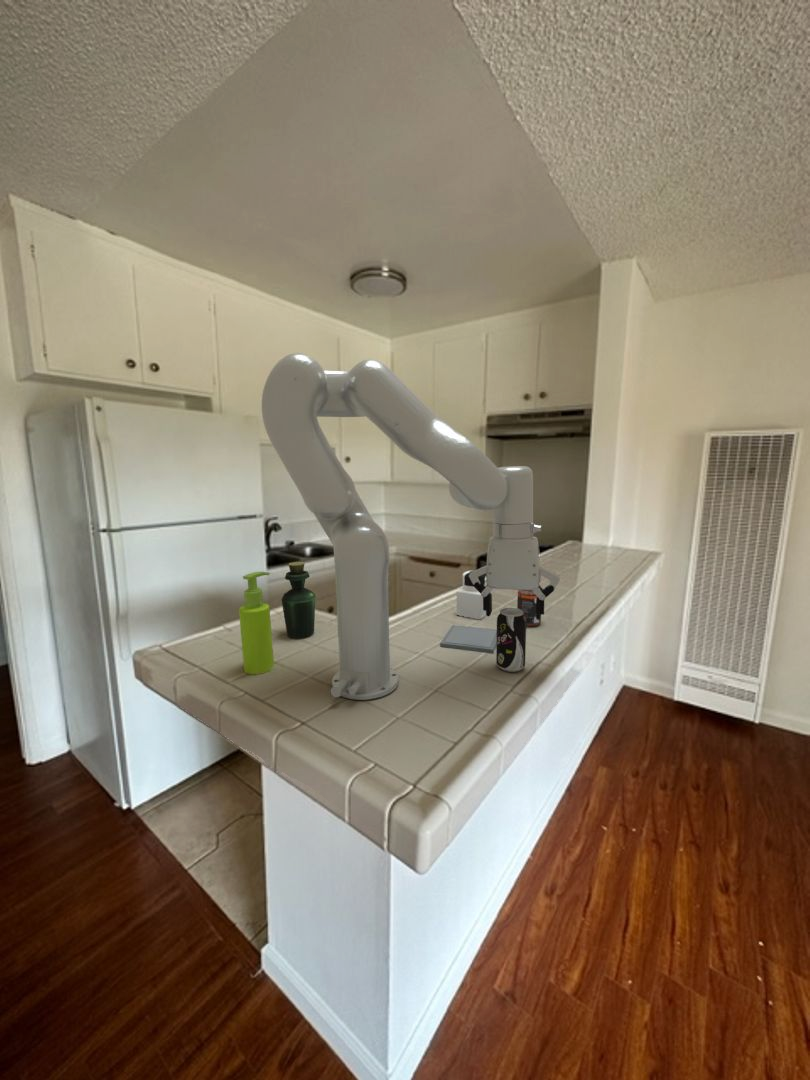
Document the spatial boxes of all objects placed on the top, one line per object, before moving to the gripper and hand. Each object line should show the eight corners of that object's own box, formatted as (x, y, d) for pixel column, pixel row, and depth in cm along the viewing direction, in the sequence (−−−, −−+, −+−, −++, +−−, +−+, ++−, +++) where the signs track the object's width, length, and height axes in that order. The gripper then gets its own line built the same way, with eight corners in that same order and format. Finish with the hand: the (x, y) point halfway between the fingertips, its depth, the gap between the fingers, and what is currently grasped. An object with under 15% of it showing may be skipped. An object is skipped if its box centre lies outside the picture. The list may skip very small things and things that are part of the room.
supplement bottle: (543, 627, 110) (545, 584, 108) (519, 627, 111) (521, 584, 109) (537, 619, 116) (538, 577, 114) (514, 619, 116) (515, 578, 114)
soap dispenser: (283, 663, 93) (277, 571, 90) (257, 676, 87) (249, 579, 84) (264, 657, 96) (257, 568, 93) (237, 670, 90) (229, 575, 87)
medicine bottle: (490, 612, 122) (491, 570, 120) (480, 620, 116) (481, 576, 114) (466, 608, 126) (467, 567, 124) (456, 615, 120) (456, 573, 118)
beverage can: (490, 666, 89) (491, 610, 87) (507, 658, 93) (508, 604, 91) (513, 676, 85) (514, 617, 83) (530, 667, 89) (532, 611, 87)
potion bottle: (278, 634, 109) (273, 563, 106) (307, 625, 115) (303, 558, 112) (293, 643, 103) (288, 569, 100) (323, 634, 109) (319, 563, 106)
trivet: (493, 653, 96) (493, 649, 96) (440, 646, 100) (440, 642, 100) (500, 633, 107) (500, 629, 107) (452, 628, 111) (452, 624, 111)
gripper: (560, 528, 85) (559, 612, 88) (472, 528, 91) (473, 607, 94) (560, 534, 78) (559, 626, 81) (464, 534, 84) (466, 619, 87)
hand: (513, 615), depth 87 cm, fingers open, 9 cm apart
